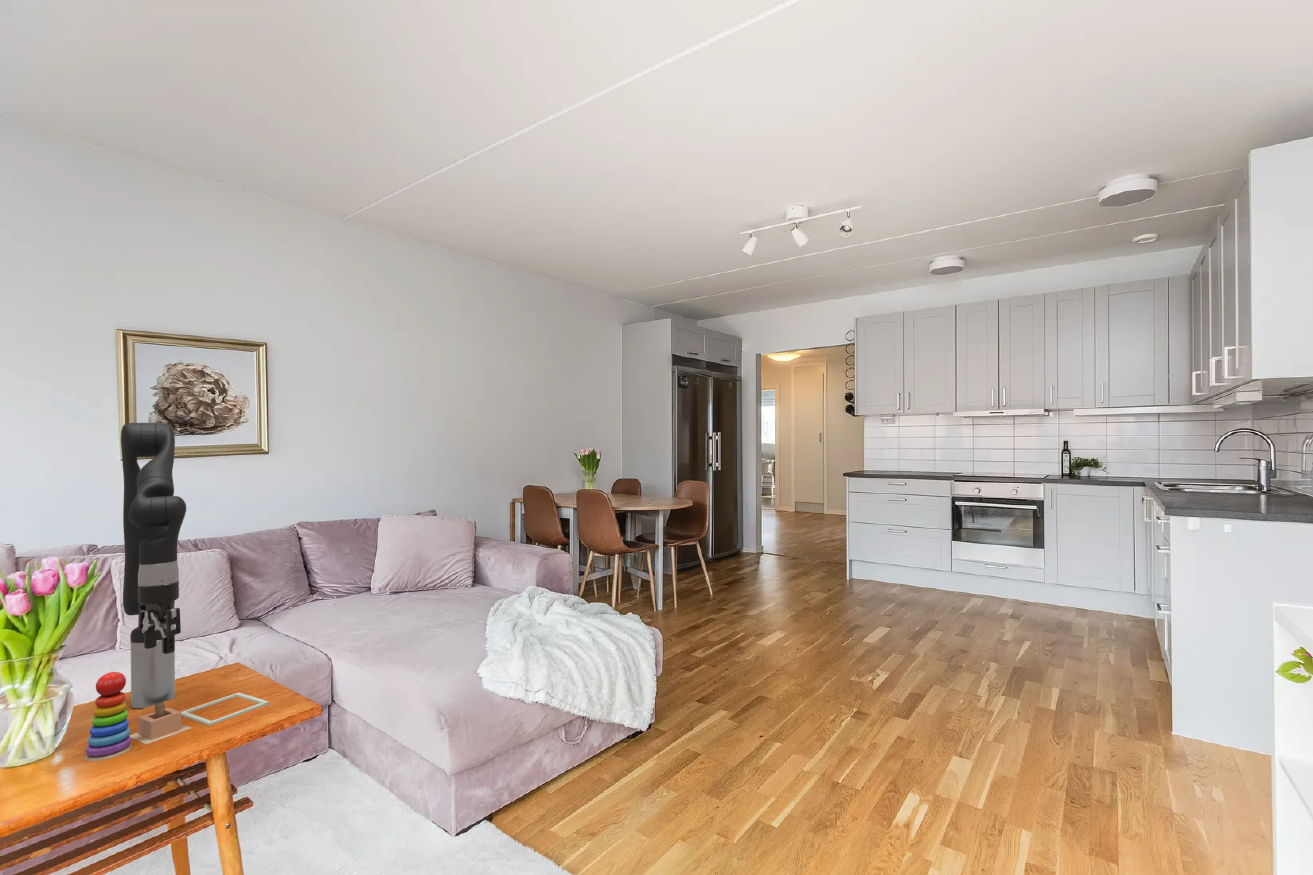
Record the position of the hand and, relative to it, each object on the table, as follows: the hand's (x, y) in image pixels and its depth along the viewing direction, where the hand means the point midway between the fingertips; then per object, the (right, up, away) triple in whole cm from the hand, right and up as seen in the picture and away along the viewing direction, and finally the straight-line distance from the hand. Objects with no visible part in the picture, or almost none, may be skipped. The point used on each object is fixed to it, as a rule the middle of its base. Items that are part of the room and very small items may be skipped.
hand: (159, 650), depth 146 cm
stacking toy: (-3, -21, -10) cm, 23 cm away
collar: (0, -19, 0) cm, 19 cm away
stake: (0, -21, 0) cm, 21 cm away
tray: (+7, -21, +12) cm, 25 cm away
